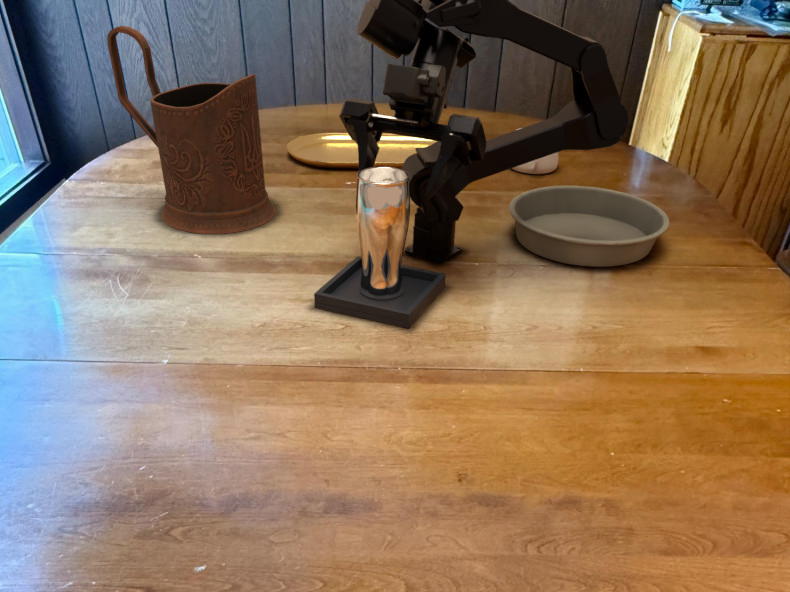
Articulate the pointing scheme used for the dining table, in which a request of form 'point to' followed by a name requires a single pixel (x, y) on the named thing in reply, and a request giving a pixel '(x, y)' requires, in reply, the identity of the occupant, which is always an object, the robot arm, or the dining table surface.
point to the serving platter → (352, 150)
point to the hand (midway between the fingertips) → (393, 192)
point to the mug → (540, 165)
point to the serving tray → (398, 311)
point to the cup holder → (203, 148)
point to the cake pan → (587, 225)
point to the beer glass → (382, 229)
